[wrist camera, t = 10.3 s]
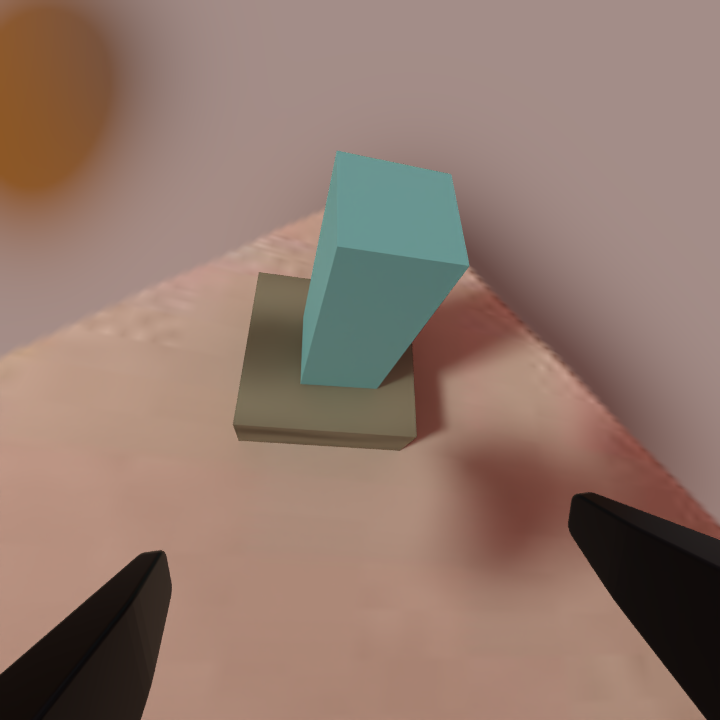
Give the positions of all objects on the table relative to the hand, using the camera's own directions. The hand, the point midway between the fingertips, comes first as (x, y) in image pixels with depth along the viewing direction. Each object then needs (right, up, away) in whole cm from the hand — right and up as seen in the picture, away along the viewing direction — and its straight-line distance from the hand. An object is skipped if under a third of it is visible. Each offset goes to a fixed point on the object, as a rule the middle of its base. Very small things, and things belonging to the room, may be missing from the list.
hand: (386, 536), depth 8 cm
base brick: (-3, +3, +15) cm, 16 cm away
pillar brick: (-2, +4, +12) cm, 13 cm away
